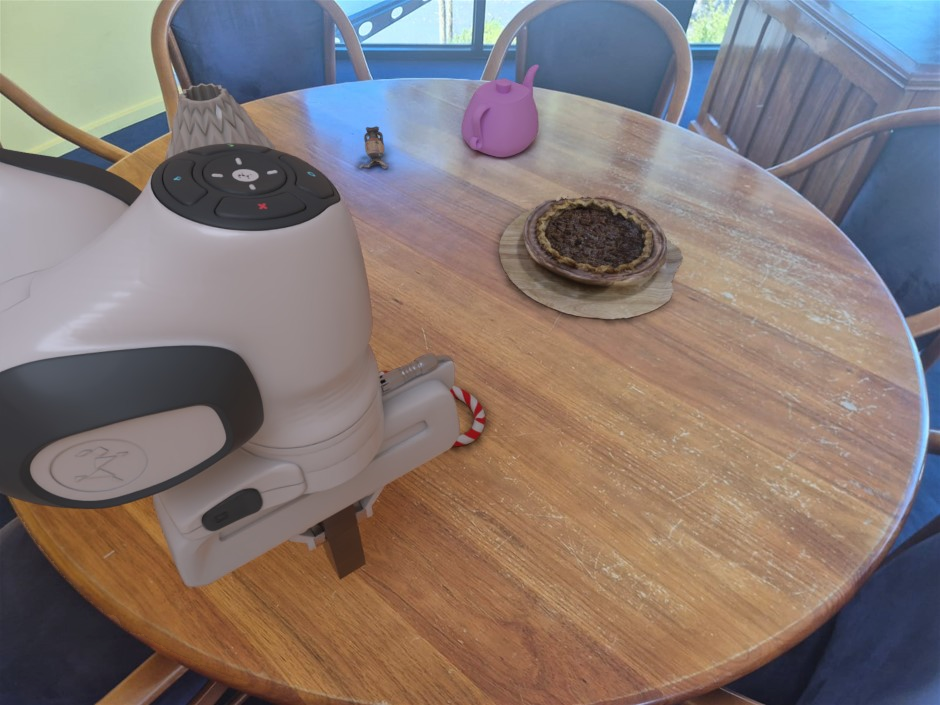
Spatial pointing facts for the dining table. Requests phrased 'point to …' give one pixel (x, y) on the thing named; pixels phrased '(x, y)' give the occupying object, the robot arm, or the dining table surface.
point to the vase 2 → (374, 147)
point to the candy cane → (477, 411)
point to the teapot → (502, 117)
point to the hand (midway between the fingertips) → (337, 525)
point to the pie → (590, 257)
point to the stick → (343, 542)
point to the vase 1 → (211, 121)
